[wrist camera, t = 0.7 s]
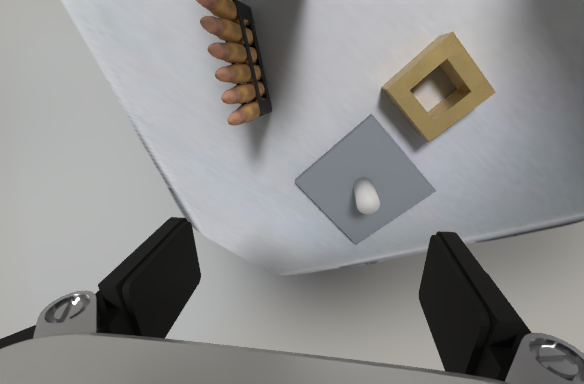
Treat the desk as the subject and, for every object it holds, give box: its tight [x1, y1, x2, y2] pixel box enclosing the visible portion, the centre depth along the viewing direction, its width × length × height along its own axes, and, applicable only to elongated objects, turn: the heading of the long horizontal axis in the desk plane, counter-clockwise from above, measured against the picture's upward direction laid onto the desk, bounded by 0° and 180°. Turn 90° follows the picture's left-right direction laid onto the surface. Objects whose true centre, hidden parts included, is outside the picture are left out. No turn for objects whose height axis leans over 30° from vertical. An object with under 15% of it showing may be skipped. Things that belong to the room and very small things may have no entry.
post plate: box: [295, 114, 436, 244], centre depth 33 cm, size 12×12×6 cm
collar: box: [381, 32, 495, 142], centre depth 29 cm, size 7×7×4 cm
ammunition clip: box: [196, 0, 272, 125], centre depth 26 cm, size 11×2×12 cm, turn 11°
